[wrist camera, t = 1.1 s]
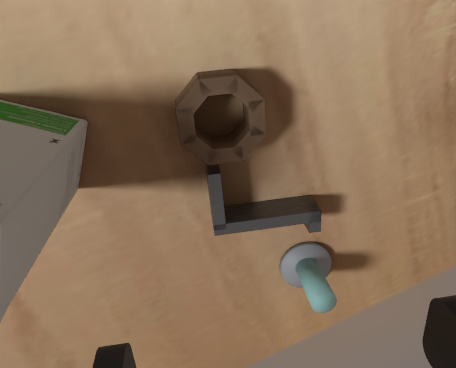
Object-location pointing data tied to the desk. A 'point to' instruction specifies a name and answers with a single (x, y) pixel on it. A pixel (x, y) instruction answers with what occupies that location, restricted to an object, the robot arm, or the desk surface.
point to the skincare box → (33, 185)
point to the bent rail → (259, 210)
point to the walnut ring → (229, 144)
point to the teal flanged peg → (309, 273)
